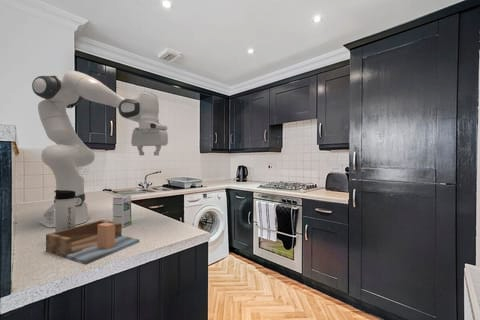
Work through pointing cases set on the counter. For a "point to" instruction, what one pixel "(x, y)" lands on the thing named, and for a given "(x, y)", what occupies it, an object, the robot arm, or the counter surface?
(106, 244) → the terracotta block
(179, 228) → the counter surface
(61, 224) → the travel mug
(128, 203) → the syrup box
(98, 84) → the robot arm
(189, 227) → the counter surface
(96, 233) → the crate
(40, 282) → the counter surface
